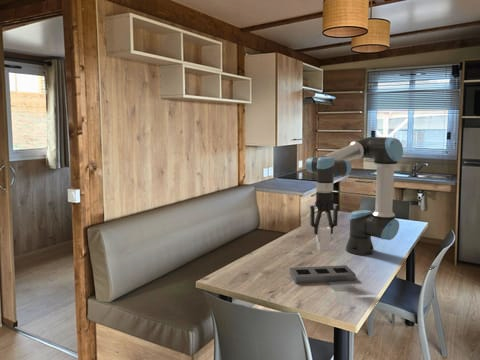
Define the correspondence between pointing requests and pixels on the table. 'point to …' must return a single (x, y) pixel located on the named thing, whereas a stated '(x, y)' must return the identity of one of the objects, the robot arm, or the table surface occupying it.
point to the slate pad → (342, 286)
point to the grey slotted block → (322, 274)
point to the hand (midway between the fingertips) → (323, 240)
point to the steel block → (324, 239)
